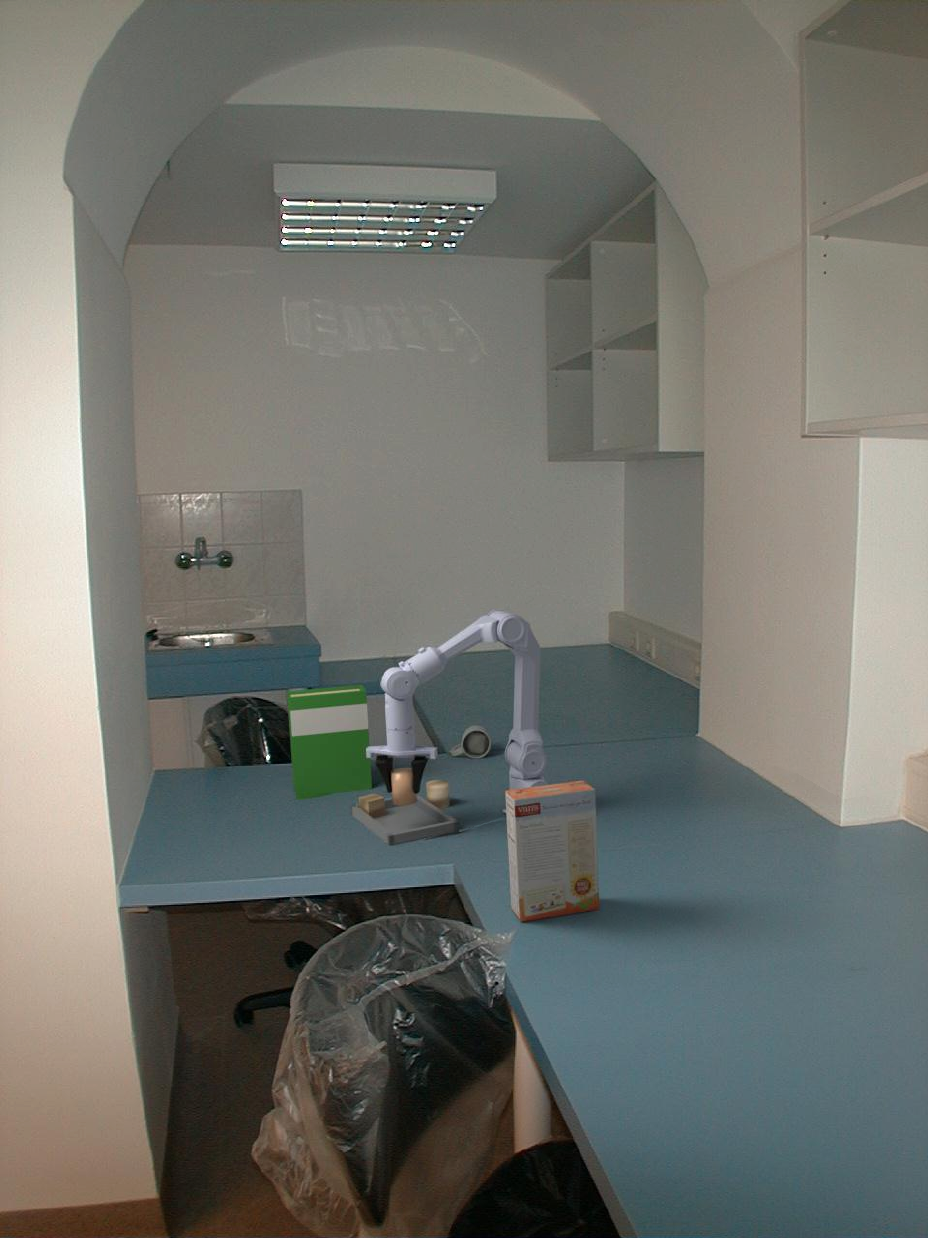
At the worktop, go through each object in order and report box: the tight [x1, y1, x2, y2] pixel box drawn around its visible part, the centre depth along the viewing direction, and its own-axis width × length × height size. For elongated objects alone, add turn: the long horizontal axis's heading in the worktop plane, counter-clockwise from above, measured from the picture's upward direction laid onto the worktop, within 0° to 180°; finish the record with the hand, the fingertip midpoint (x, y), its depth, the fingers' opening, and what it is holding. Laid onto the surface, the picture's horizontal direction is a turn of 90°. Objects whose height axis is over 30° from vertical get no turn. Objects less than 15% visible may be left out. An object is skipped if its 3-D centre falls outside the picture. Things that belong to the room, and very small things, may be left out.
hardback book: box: [286, 684, 373, 801], centre depth 238 cm, size 18×7×24 cm, turn 104°
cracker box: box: [504, 780, 600, 922], centre depth 168 cm, size 14×6×21 cm, turn 104°
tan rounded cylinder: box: [390, 767, 418, 806], centre depth 208 cm, size 5×5×6 cm
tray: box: [349, 794, 460, 846], centre depth 214 cm, size 22×15×2 cm
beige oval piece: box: [425, 779, 451, 810], centre depth 224 cm, size 5×5×6 cm
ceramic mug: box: [449, 725, 492, 760], centre depth 265 cm, size 11×8×8 cm
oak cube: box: [358, 793, 385, 819], centre depth 219 cm, size 4×4×4 cm
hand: (403, 791), depth 208 cm, fingers closed on tan rounded cylinder, 5 cm apart
